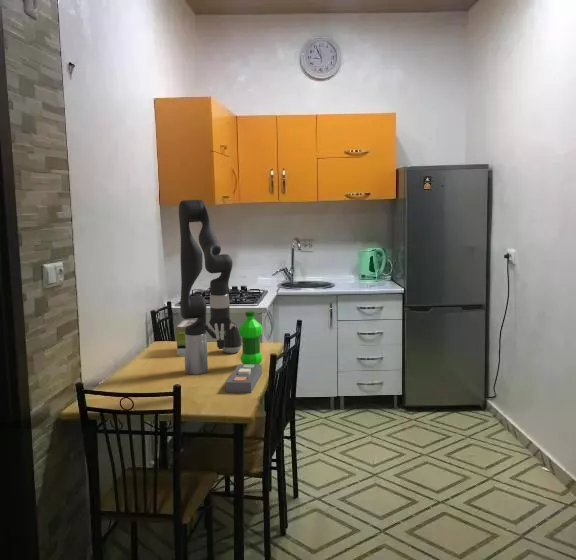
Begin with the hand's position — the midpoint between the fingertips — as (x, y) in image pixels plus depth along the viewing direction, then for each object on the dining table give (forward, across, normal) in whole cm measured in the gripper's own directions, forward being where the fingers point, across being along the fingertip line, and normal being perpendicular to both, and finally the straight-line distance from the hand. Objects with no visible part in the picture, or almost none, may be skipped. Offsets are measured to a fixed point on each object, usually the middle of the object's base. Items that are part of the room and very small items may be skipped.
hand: (221, 348), depth 238 cm
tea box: (+19, +28, -58) cm, 67 cm away
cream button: (+15, -8, -9) cm, 19 cm away
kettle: (+18, +7, -57) cm, 61 cm away
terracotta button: (+15, -7, 0) cm, 17 cm away
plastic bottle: (+18, -7, -33) cm, 38 cm away
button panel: (+17, -8, -9) cm, 21 cm away
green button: (+16, -8, -18) cm, 25 cm away
